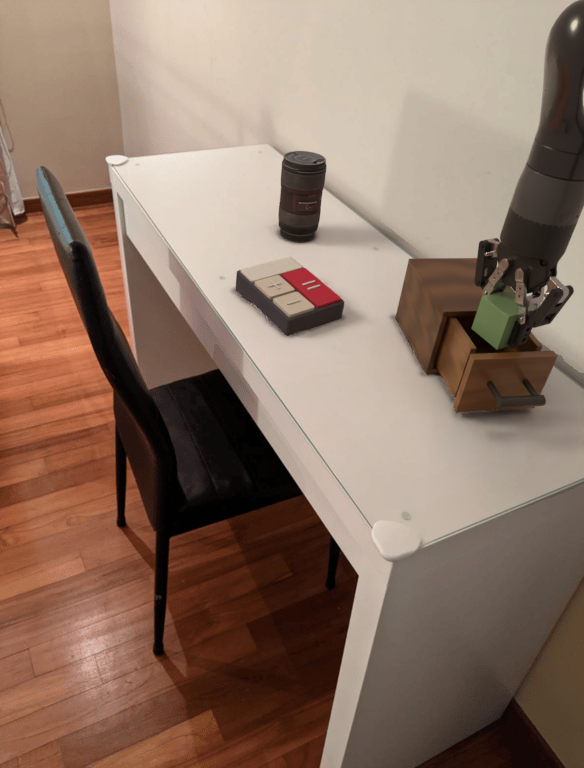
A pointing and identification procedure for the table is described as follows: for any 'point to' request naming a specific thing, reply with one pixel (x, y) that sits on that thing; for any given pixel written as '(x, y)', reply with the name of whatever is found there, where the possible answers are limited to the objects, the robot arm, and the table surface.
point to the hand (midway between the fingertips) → (499, 332)
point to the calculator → (289, 295)
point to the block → (496, 318)
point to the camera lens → (301, 195)
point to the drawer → (491, 369)
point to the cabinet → (436, 302)
